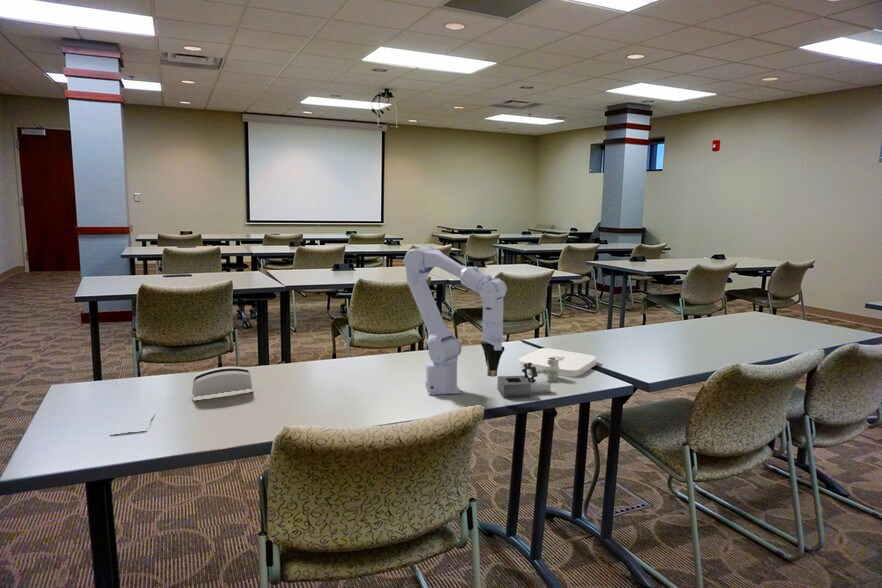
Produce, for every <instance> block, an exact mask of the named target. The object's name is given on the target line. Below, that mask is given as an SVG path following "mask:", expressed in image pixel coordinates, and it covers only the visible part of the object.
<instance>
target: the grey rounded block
mask: <svg viewBox="0 0 882 588" xmlns="http://www.w3.org/2000/svg"><path fill="white" fill-rule="evenodd" d="M252 388H253V382H252V377H251V373H250V370H249V368H247V367H242V366H222V367H216V368H215V367H214V368H210V369H207V370H205V371H201V372H199V373H196V374H195V375H194V377H193V384H192V393H191V395H192V394H193V396H194V397H197V396H204V395H211V394H218V393H224V392H231V391H239V390H246V389H252Z"/></svg>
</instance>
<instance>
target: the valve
mask: <svg viewBox="0 0 882 588" xmlns="http://www.w3.org/2000/svg"><path fill="white" fill-rule="evenodd" d="M527 365H528V366H527ZM531 365H532V363H528V364H527V363H526V364H524V367H525V368H522V369H521V373H524V375H523V376H524V377H525V378H526V379H527V380H528V381H529V383H534V382H536V381H537V380H536V379H535V378H537V377H538V375H540V374H542V375H544V376H546V379H547V380H551V379H552V381H553V380H554V379H555V380H558V379H559V375H558V374H557V373H558V372H559V366H558V358H554V357H550V358H547V365H543V366H542V367H541V368H538V369H536V367H531ZM529 376H530V377H529Z"/></svg>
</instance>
